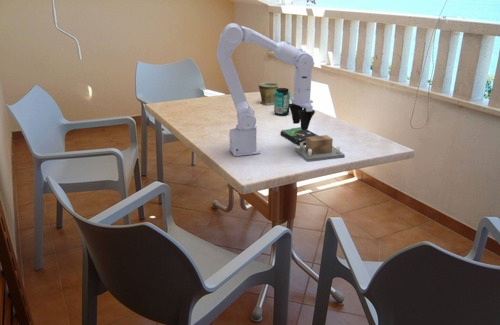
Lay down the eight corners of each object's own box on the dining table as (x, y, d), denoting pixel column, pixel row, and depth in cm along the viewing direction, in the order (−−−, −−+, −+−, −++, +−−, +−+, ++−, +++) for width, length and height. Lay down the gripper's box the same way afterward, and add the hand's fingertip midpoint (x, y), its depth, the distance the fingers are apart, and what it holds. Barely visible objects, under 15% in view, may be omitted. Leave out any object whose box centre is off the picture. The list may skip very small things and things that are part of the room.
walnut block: (310, 154, 143) (311, 141, 141) (305, 150, 147) (306, 137, 145) (331, 152, 145) (332, 138, 143) (325, 148, 149) (326, 135, 147)
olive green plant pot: (278, 106, 211) (278, 86, 207) (258, 106, 211) (258, 86, 207) (277, 100, 223) (277, 81, 219) (258, 100, 223) (258, 81, 219)
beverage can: (289, 112, 199) (290, 87, 195) (289, 116, 193) (289, 90, 188) (274, 112, 200) (275, 87, 195) (273, 116, 193) (274, 90, 189)
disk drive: (321, 143, 159) (301, 132, 171) (322, 136, 157) (301, 126, 170) (298, 147, 154) (279, 136, 167) (299, 140, 153) (279, 129, 166)
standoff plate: (307, 161, 140) (307, 151, 138) (294, 150, 150) (295, 141, 148) (344, 157, 143) (345, 147, 142) (330, 147, 153) (330, 138, 152)
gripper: (322, 92, 136) (319, 131, 141) (304, 83, 149) (302, 120, 154) (302, 93, 134) (300, 133, 140) (286, 84, 147) (285, 121, 152)
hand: (300, 126), depth 147 cm, fingers open, 7 cm apart
